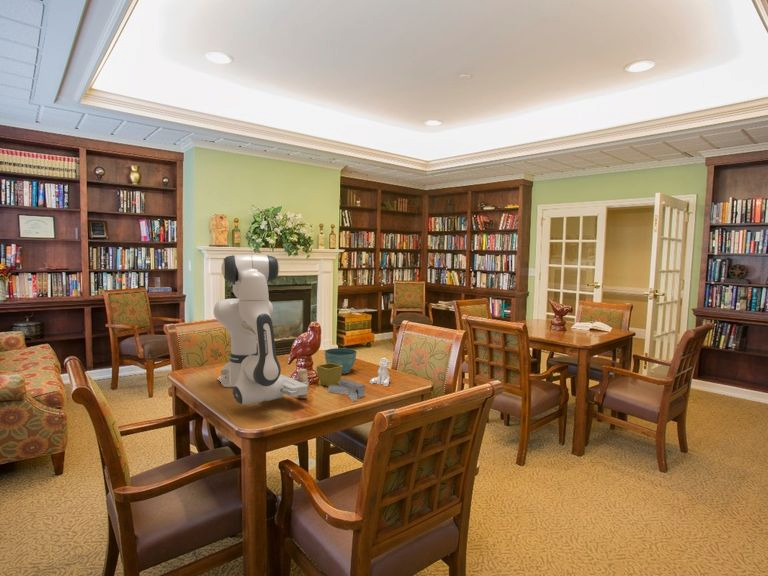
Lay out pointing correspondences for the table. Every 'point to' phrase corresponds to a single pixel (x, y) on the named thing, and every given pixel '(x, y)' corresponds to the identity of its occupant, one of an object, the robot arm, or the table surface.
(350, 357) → the flower pot
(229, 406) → the table surface
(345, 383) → the crossed grey wooden bars
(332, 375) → the flower pot
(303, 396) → the dowel
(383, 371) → the sitting furry creature
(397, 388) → the table surface
